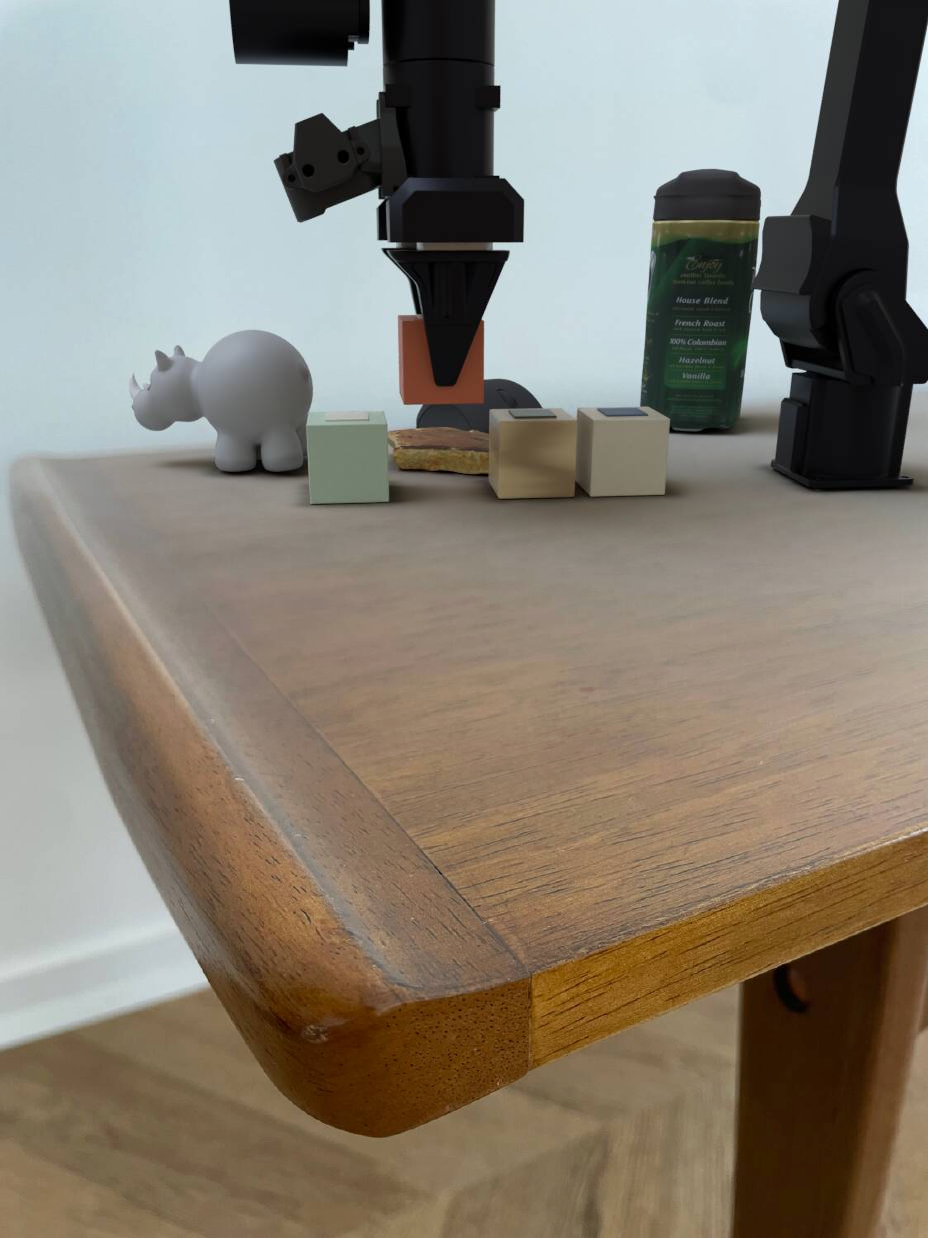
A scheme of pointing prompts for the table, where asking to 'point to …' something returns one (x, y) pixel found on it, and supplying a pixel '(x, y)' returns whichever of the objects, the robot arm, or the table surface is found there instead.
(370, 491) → the row block
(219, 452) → the toy rhinoceros
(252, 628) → the table surface
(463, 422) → the computer mouse
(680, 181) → the coffee jar
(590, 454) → the row block
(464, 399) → the orange cube
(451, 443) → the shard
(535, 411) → the row block
